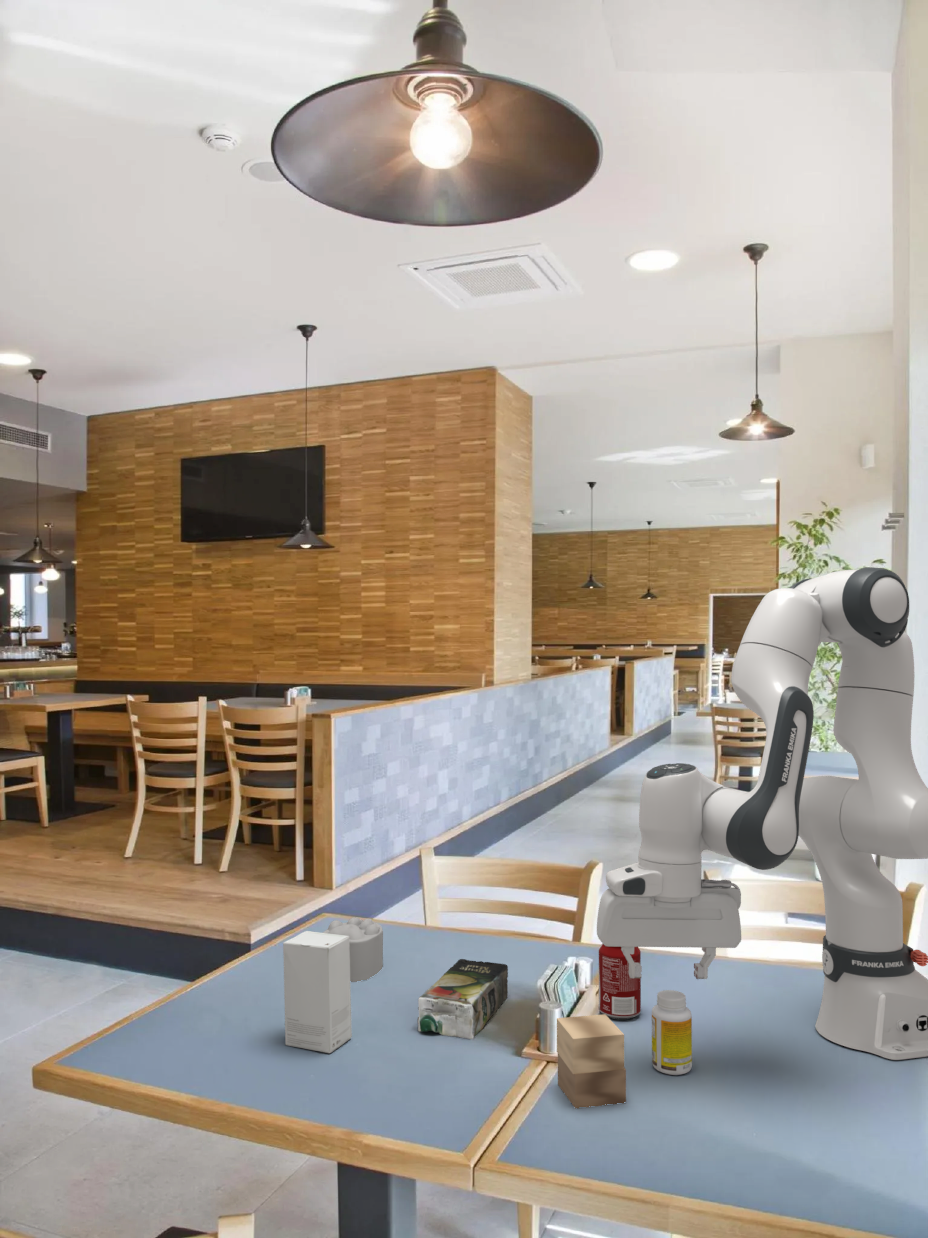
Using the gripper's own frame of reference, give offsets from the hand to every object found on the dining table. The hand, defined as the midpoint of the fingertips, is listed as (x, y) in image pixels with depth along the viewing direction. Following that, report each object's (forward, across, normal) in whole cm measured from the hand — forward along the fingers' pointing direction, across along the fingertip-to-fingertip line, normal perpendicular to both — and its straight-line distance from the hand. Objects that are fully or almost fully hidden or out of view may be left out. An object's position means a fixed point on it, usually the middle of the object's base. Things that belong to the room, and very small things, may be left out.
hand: (667, 977), depth 133 cm
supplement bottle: (+13, -1, 0) cm, 13 cm away
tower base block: (+13, +12, +7) cm, 19 cm away
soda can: (+13, +2, -20) cm, 24 cm away
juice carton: (+14, +27, -22) cm, 38 cm away
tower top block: (+9, +12, +7) cm, 17 cm away
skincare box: (+14, +50, -11) cm, 53 cm away
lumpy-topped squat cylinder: (+14, +47, -44) cm, 66 cm away
